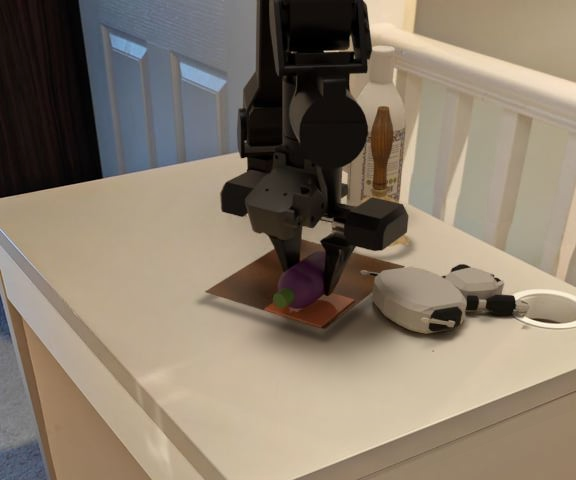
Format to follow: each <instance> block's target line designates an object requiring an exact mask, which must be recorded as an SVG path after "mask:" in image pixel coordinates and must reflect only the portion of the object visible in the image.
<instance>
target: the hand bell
mask: <svg viewBox="0 0 576 480" xmlns="http://www.w3.org/2000/svg"><path fill="white" fill-rule="evenodd" d="M392 144H393V125H392V121H391V117H390V112H389V107H386V106H380V107H378V110H377V114H376V117H375V120H374V123H373V126H372V130H371V152H372V156H373V161H374V174H373V184H372V187H373V191H372V195H371V196H369V197H366V198H364V199H363V200H362V201H361V203H360V204H362V203H363V202H365V201H367V200H368V199H370V198H371V197H374V198H378V199H383V200H387V201H391V202H396V201H395V200H394V199H393V198H391V197H389V196H387V188H386V187H387V183H386V181H387V164H388V159H389V157H390V154H391V150H392ZM396 203H397V202H396ZM400 244H401V245H403V246H404V245H405V246H408V247H410V241H409V239H408V236H407V235H406V234H404V235H403V236H401V237H400V238H399V239H397V240H396V241H394V242H393V243H392V244H390V245H389V246H388V247H387V248H389V247H394V246H397V245H400Z"/></svg>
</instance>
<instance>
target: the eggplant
mask: <svg viewBox="0 0 576 480" xmlns="http://www.w3.org/2000/svg"><path fill="white" fill-rule="evenodd" d="M325 254H326V252H325V251H317V252H314V253H312V254H310V255H309V256H307V257H306V258H304V259H303V260H301V261H300V262H298V263H297V264H295V265H294V266H292V267H291V268H289V269H288V270H286V271H285V272H284V273H283V274H282V276H281V277H280V279H279V282H278V292H277V293H276V294H275V295H274V297H273V302H274V304H275V305H276V306H277V307H278V308H284V307H286V306H289V307H291V308H295V309H302V308H305V307H307V306H309V305H311V304H312V303H313V302H315V301H316V300H317V299H319V298H320V297H322V296H323V295H324V270H325ZM340 277H341V276H340ZM339 279H340V278H339ZM338 282H339V280H338Z"/></svg>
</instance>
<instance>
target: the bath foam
mask: <svg viewBox="0 0 576 480" xmlns="http://www.w3.org/2000/svg"><path fill="white" fill-rule="evenodd" d="M395 57H396V48H395V47H393V46H391V45H373V46H372V53H371V57H370V59H369V65H368V66H369V67H368V80H367V83H366V84H365V86H364V88H363V89H362V91H361V92H360V94H359V96H358V97H357V98H356V101H357V103H358V104H359V105H360V107H361V108H362V110H363V112H364V114H365V117H366V120H367V125H368V135H367V140H366V143H365V145H364V148H363V150H362V151H361V153H360V154H359V155H358V157H357V158H356V159H354V160H353V161H352V162H351V163H349V164H347V181H346V184H348V195H346V202H345V204H346V205H350V206H359V205H360V203H361V201H362V200H363V199H364V198H366V197H369V196H371V195H372V191H373V187H372V184H373V174H374V161H373V156H372V152H371V130H372V126H373V123H374V120H375V117H376V114H377V110H378V107H380V106H386V107H389V112H390V117H391V121H392V125H393V144H392V150H391V154H390V157H389V159H388V164H387V181H386V183H387V187H386V188H387V196H389V197H391V198H393V199H394V200H395V201H396V202H397V203H400V198H401V186H402V176H403V163H404V153H405V140H406V128H407V115H406V109H405V105H404V103H403V100H402V97H401V95H400V93H399V91H398V89H397V88H396V86H395V83H394V81H393V80H394V72H395V60H396V59H395Z"/></svg>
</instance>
